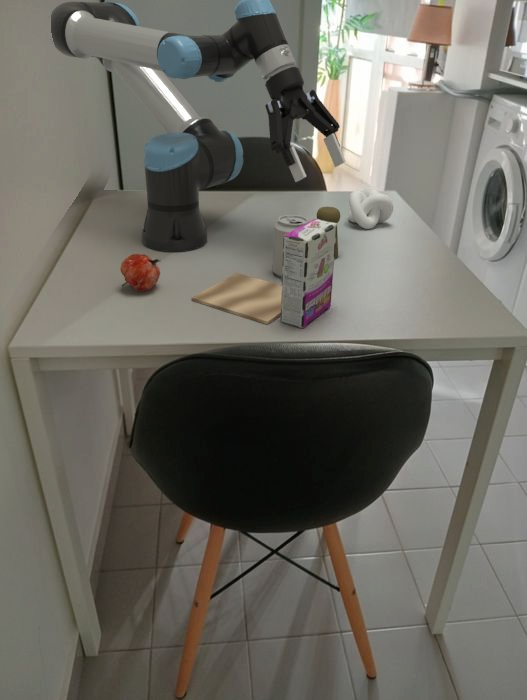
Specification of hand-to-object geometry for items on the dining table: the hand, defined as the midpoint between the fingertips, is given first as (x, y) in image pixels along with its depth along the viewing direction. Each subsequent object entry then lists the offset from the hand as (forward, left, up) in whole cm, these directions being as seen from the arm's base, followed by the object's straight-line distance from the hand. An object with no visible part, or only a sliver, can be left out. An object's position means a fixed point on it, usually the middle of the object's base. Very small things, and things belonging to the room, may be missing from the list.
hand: (321, 171), depth 128 cm
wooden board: (+1, -28, -19) cm, 33 cm away
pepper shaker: (+2, +1, -19) cm, 19 cm away
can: (+1, -13, -19) cm, 23 cm away
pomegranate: (-19, -37, -19) cm, 45 cm away
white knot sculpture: (0, +27, -19) cm, 33 cm away
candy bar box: (+13, -28, -19) cm, 36 cm away
